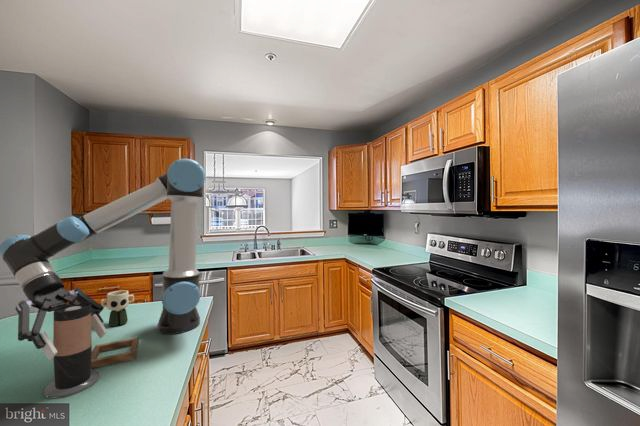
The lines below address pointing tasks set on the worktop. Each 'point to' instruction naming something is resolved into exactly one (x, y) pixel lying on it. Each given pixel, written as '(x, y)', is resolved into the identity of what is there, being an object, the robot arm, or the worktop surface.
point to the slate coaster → (54, 392)
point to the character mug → (117, 306)
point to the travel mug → (72, 345)
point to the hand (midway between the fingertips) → (80, 344)
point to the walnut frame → (114, 358)
